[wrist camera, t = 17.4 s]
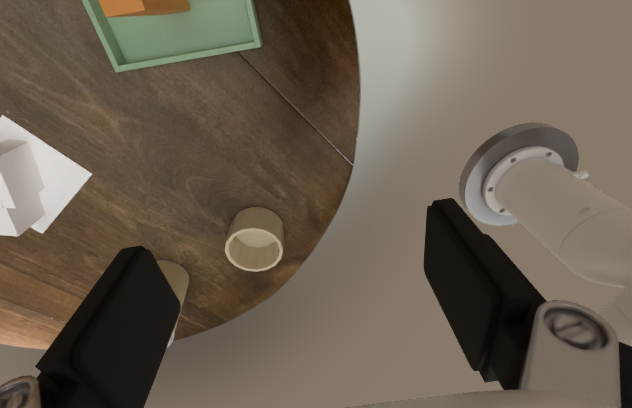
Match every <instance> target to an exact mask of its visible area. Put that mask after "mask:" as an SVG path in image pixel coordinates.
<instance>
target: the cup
mask: <svg viewBox="0 0 632 408" xmlns="http://www.w3.org/2000/svg"><path fill="white" fill-rule="evenodd" d="M283 237H284V229H283V223H282V221H281V219H280V218H279V216H278V215H277V214H275V213H274V212H273V211H271V210H269V209H266V208H262V207H250V208H247V209H244V210H242V211H240V212H239V213H238V214H237V215H236V216H235V217H234V219H233V221H232V223H231V226H230V230H229V233H228V237H227V240H226V246H225V253H226V255H227V257H228V259H229V260H230V261H231V262H232V263H233V264H234V265H235V266H236V267H239V268H241V269H243V270H246V271H254V272H257V271H264V270H267V269H269V268H271V267H273V266H275V265H276V264H277V263H278V262H279V261H280V259H281V257H282V253H283Z"/></svg>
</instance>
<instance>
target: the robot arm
mask: <svg viewBox="0 0 632 408" xmlns="http://www.w3.org/2000/svg"><path fill="white" fill-rule="evenodd" d="M587 177H588V172H587V171H586V170H580V171H575V172H572V171H570V170H569V169H567V168H565V167H564V163H563V161H562V158H561V157H560V155H559V154H558V153H556V152H555V151H553V150H551V149H549V148H547V147H543V146H529V147H524V148H521V149H518V150H516V151H514V152H512V153H510V154H508V155H507V156H505V157H504V158H502V159H501V160H500V161H499V162H498V163H497V164H496V165H495V166H494V167H493V168H492V169H491V171H490V172H489V174H488V175H487V177H486V180H485V182H484V185H483V198H484V201H485V203H486V205H487V206H488V207H489V208H490V209H491V210H493V211H494V212H496V213H498V214H501V215H512V216H513V217H514V218H515V219H516V220H517V221H518V222H519V223H521V224H522V225H523V226H524V227H525V228H526V229H527V230H528V231H529V232H530V233H531V234H532V235H534V237H535V238H537V239H538V240H539V241H540V242H541V243H542V244H543V245H544V246H545V247H546V248H547V249H549V251H550V252H552V253H553V254H554V255H555V256H556V257H557V258H558V259H559V260H560V261H561V262H562V263H564V265H566V266H567V267H568V268H569V269H570V270H571V271H572V272H574V273H575V274H576V275H578V276H580V277H582V278H584V279H586V280H588V281H592V282H595V283H599V284H604V285H609V286H616V287H623V288H625V289H624V290H623V292H621V293H620V294H619V295H618V296H617V297H615V298H614V300H613V301H611V302H610V303H608V304H607V305H605V306H604V307H603V308H601V309H600V310H599V311H597V312H596V313H595V312H594V311H592V310H590V309H589V308H586V307H584V306H582V305H579V304H576V303H572V302H568V301H558V300H553V301H549V302H547V301H546V300H545V299H544V298H543V297H542V296H541V294H540V293H539V292H538V291H537V290H536V289H535V288H534V286H533V285H532V284H531V283H530V282H529V281H528V279H527V278H526V277H525V276H524V275H523V274H522V272H521V271H520V270H519V269H518V268H517V267H516V265H515V264H514V263H513V262H512V261H511V260H510V259H509V257H508V256H507V255H506V254H505V253H504V252H503V250H501V248H500V247H499V246H498V245H497V244H496V242H495V241H494V240H493V239H492V238H491V237H490V236H489V235H486V234H483V233H482V232H481V231H480V230H479V229H478V227H477V226H476V225H475V224H474V223H473V221H472V220H471V219H470V218H469V217H468V216H467V214H466V213H465V212H464V211H463V210H462V208H461V207H460V206H459V205H458V204H457V202H456V201H455V200H454V199H452V198H448V199H442V200H435V201H433V203H432V206H428V208H427V219H426V234H425V235H426V236H425V251H424V271H425V275H426V277H427V279H428V281H429V283H430V285H431V287H432V289H433V291H434V293H435V295H436V297H437V299H438V301H439V304H440V306H441V308H442V310H443V312H444V314H445V316H446V318H447V320H448V322H449V324H450V326H451V328H452V330H453V332H454V334H455V336H456V338H457V340H458V342H459V344H460V346H461V348H462V350H463V352H464V354H465V356H466V358H467V360H468V362H469V364H470V366H471V368H472V369H473V370H474V371H479V372H480V374H481V376H482V378H483V380H484V382H491V381H499V382H500V384H501V386H502V388H503V389H504V390H501V391H485V392H484V391H483V392H472V393H463V394H454V395H444V396H437V397H436V396H435V397H427V398H417V399H409V400H401V401H394V402H386V403H378V404H371V405H364V406H355V407H348V408H632V210H631V209H630V208H628V207H626V206H625V205H623V204H621V203H620V202H618V201H616V200H614V199H613V198H611V197H609V196H608V195H606V194H604V193H603V192H601V191H599V190H597V189H596V188H594V187H592V184H591V183H590V182H589V181H582V180H581V179H585V178H587ZM180 311H181V304H180V301H179V299H178V298H177V296H176V294H175V293H174V291H173V289H172V287H171V286H170V284H169V282H168V280H167V279H166V277H165V275H164V274H163V272H162V270H161V268H160V267H159V265H158V263H157V262H156V260H155V258H154V256H153V255H152V253H151V252H150V250H148V249H145V248H144V247H142V246H136V247H130V248H124V249H122V250H121V251H120V252H119V253H118V254H117V256H116V257H115V258H114V260H113V261H112V262H111V264H110V265H109V267H108V268H107V269H106V271H105V272H104V273H103V275H102V276H101V277H100V279H99V280H98V282H97V283H96V284H95V286H94V287H93V288H92V290H91V291H90V293H89V294H88V295H87V297H86V298H85V299H84V301H83V302H82V303H81V305H80V306H79V308H78V309H77V310H76V312H75V313H74V314H73V316H72V317H71V318H70V320H69V321H68V323H67V324H66V325H65V327H64V328H63V329H62V331H61V332H60V333H59V335H58V336H57V338H56V339H55V340H54V342H53V343H52V344H51V346H50V347H49V349H48V350H47V351H46V353H45V354H44V355H43V357H42V358H41V359H40V361H39V362H38V364H37V365H36V366H35V367H36V368H38V369H39V370H40V371H41V373H40V374H39V376H38V377H37V378H35V377H32V376H21V377H18V378H15V379H12V380H10V381H8V382H7V383H5V384H3V385H1V386H0V408H144V405H145V403H146V400H147V397H148V395H149V392H150V390H151V387H152V384H153V382H154V379H155V377H156V374H157V371H158V369H159V366H160V363H161V361H162V358H163V356H164V353H165V350H166V348H167V345H168V343H169V340H170V337H171V335H172V332H173V330H174V327H175V324H176V322H177V319H178V317H179V314H180Z"/></svg>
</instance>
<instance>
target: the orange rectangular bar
mask: <svg viewBox="0 0 632 408" xmlns="http://www.w3.org/2000/svg"><path fill="white" fill-rule="evenodd" d="M98 1H99V3H100V5H101V7H102V10H103V12H104V14H105V16H106V17H130V16H153V15H167V14H173V13H178V12H184V11H189V10H191V9H190V6H189V2H188V0H98Z"/></svg>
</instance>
